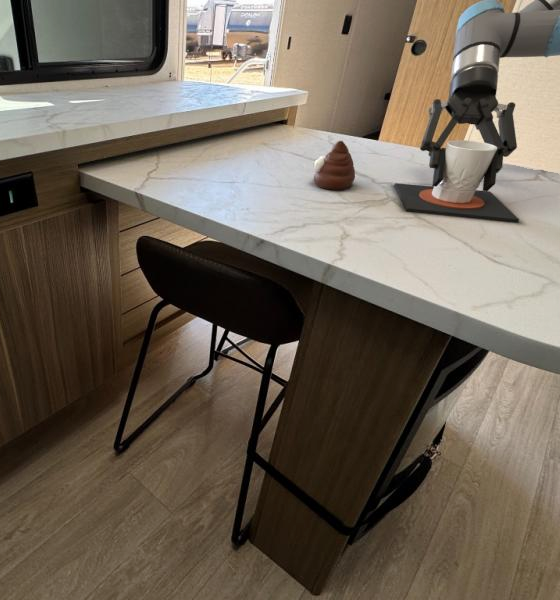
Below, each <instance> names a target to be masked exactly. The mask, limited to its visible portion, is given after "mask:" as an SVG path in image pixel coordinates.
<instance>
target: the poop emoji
mask: <svg viewBox="0 0 560 600" xmlns="http://www.w3.org/2000/svg"><path fill="white" fill-rule="evenodd" d="M313 169H314V172H315V173H314V174H313V182H314V184H315V186H317V187H319V188H321V189H325V190H330V191H342V190H345V189H347V188H349V187H350V186H351V185H352V184H353V182H354V181H355V179H356V170H355V166H354V160H353V158H352V154H351V153H350V152H349V148H348V146H347V145H346V144H345V142H344V141H343V140H337V141H336V142H335V143H334V144H333V146H332V148H331V150H330V151H329V152H328V153H327V154H326V155H321V156H319V158H318V159H316V160H314V162H313Z"/></svg>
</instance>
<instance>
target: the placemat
mask: <svg viewBox="0 0 560 600" xmlns="http://www.w3.org/2000/svg"><path fill="white" fill-rule="evenodd" d="M393 186H394V188H395V190H396V193H397V195H398V197H399V199H400V201H401V203H402V205H403V208H404V211H405V212H412V213H420V214H421V213H422V214H432V215H439V216H440V215H441V216H449V217H461V218H470V219H478V220H481V219H482V220H490V221H498V222H499V221H500V222H501V221H502V222H507V223H508V222H509V223H519V222H520V219H519V218H518V217H517V216H516V215H515V213H514V212H512V211H511V210H510V208H508V207H507V206H506V205H505V204H504V203H503V202H501V200H500V199H499V198H498V197H497V196H495V195H494V194H493V193H492V191H489V190H488V191H483V190H478V189H477V190H476V192H475V194H474V196H473V198H472V200H471V201H470V202H467V203H452V202H446V201H443V200H439V199H437V198H435V197H433V195H432V191H433V188H434V186H432V185H423V184H422V185H421V184H411V183H398V182H395V183H394V184H393Z"/></svg>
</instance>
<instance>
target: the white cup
mask: <svg viewBox="0 0 560 600" xmlns="http://www.w3.org/2000/svg"><path fill="white" fill-rule="evenodd" d="M444 148H446V155H445V164H444V173H443V180H442V181H441V182H440V183H439V184H438V186H434V188H433V191H432V195H433V197H435V198H437V199H439V200H443V201H446V202H452V203H467V202H470V201H471V200H472V198H473V196H474V194H475V192H476V190H478V189H479V187H480V185H481V183H482V182H483V180H484V175H485V173H486V171H487V169H488V167H489V165H490V163H491V161H492V159H493V157H494V155H495V153H496V150H497V147H496V146H494V145H492V144H488V143H484V141H483V142H482V141H478V140H477V141H476V140H467V139H465V140H464V139H456V140H455V139H453V140H448V141H447V142H446V144H445V147H444Z"/></svg>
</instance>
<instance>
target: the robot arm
mask: <svg viewBox="0 0 560 600" xmlns="http://www.w3.org/2000/svg"><path fill="white" fill-rule="evenodd" d="M504 7H505V6H504V5H503V3H502V2H500V1H498V0H481V1H478V2H476V3H474V4H472V5H470V6H469V7H468V8H467V9H465V10H464V11H463V12H462V14H461V15H460V17H459V18H458V21H457V26H456V31H455V36H454V38H453V39H454V47H453V59H452V66H451V72H450V73H451V75H450V83H449V91H448V99H447V100H446V101H441V100H440V99H439V98H436V99H434V100H433V102H432V104H431V106H429V109H428V113H429V114H428V115H429V119H428V122H427V125H426V129H425V132H424V135H423V137H422V141H421V144H420V147H419V150H420V151H422V152H425V151H427V152H428V156H429V163H428V166H429V168H430V169H433V177H432V185H431V186H438V184H439V183H440V182H441V181H442V180H443V173H444V164H445V155H446V148H445V147H442V146H443V145H444V143H445V142H446V140H447V139H448V138H449V136H450V135H451V133H452V131H454V128H455V127H456V126H457V124H458V125H465V124H469V125H474V126H475V130H477V131H479V133H480V135H481V138H482V140H483V142H484V143H488V144H492V145H494V146H496V147H497V150H496V153H495V155H494V157H493V159H492V161H491V163H490V165H489V167H488V169H487V171H486V173H485V175H484V177H483V181H482V182H483V183H482V191H489V190H490V189H492V187H494V186H495V185H496V181H497V174H498V173H499V172H500V171H501V170H502V168H503V165H504V158H507V157H509V156H510V155H511V154H512V153H513V152H514V151H516V149H518V143H517V136H516V135H517V134H516V128H515V121H514V120H515V119H514V112H515V109H516V103H515V102H512V101H511V102H508V104H504V103H499V101H498V99H497V97H496V96H497V91H498V81H499V72H500V71H499V70H500V59H504V58H537V57H538V58H539V57H544V58H548V57H556V56H560V0H533V1H531V2H530V3H529V4H527V5H526V6H525V7H523V8H522V9H520V10H519V11H517V12H506V11H505V8H504ZM444 110H445V111H446V112H447V114H449V116H450V117H451V119H450V120H449V121H448V122H447V124H446V126H445V128H444V129H443V130H442V133H441V134H440V136H438V138H437V140H436V141H433V139H434V136H435V133H436V129H437V127H438V124H439V120H440V117H441V114H442V113H443V112H444ZM493 112H495V113H496V118H497V119H498V121H497V126H498V129H497V126H496V124H495V122H494V114H493Z"/></svg>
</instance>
